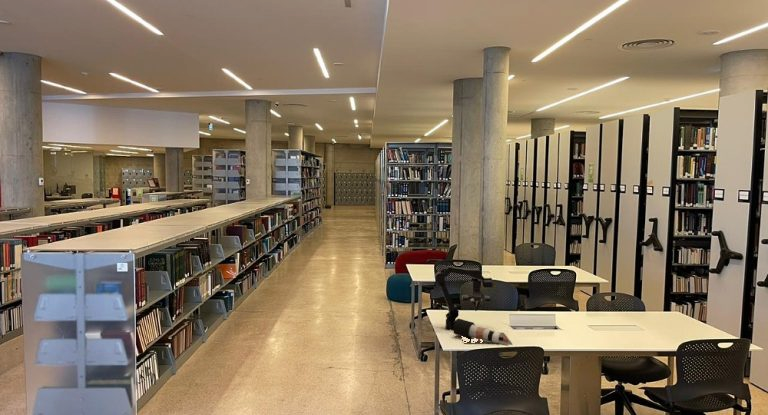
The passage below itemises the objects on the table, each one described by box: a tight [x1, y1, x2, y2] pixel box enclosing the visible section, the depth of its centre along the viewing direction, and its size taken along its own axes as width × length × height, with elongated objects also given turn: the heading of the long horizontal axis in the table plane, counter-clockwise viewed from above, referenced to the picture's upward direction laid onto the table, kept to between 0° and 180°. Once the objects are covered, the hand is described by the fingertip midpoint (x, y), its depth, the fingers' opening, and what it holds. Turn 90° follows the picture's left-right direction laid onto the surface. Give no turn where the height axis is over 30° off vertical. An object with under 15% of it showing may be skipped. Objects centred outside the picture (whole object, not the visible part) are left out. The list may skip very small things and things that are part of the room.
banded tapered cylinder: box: [452, 318, 509, 343], centre depth 335 cm, size 10×34×10 cm, turn 57°
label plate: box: [463, 331, 513, 346], centre depth 340 cm, size 30×26×1 cm
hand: (475, 310), depth 361 cm, fingers closed
